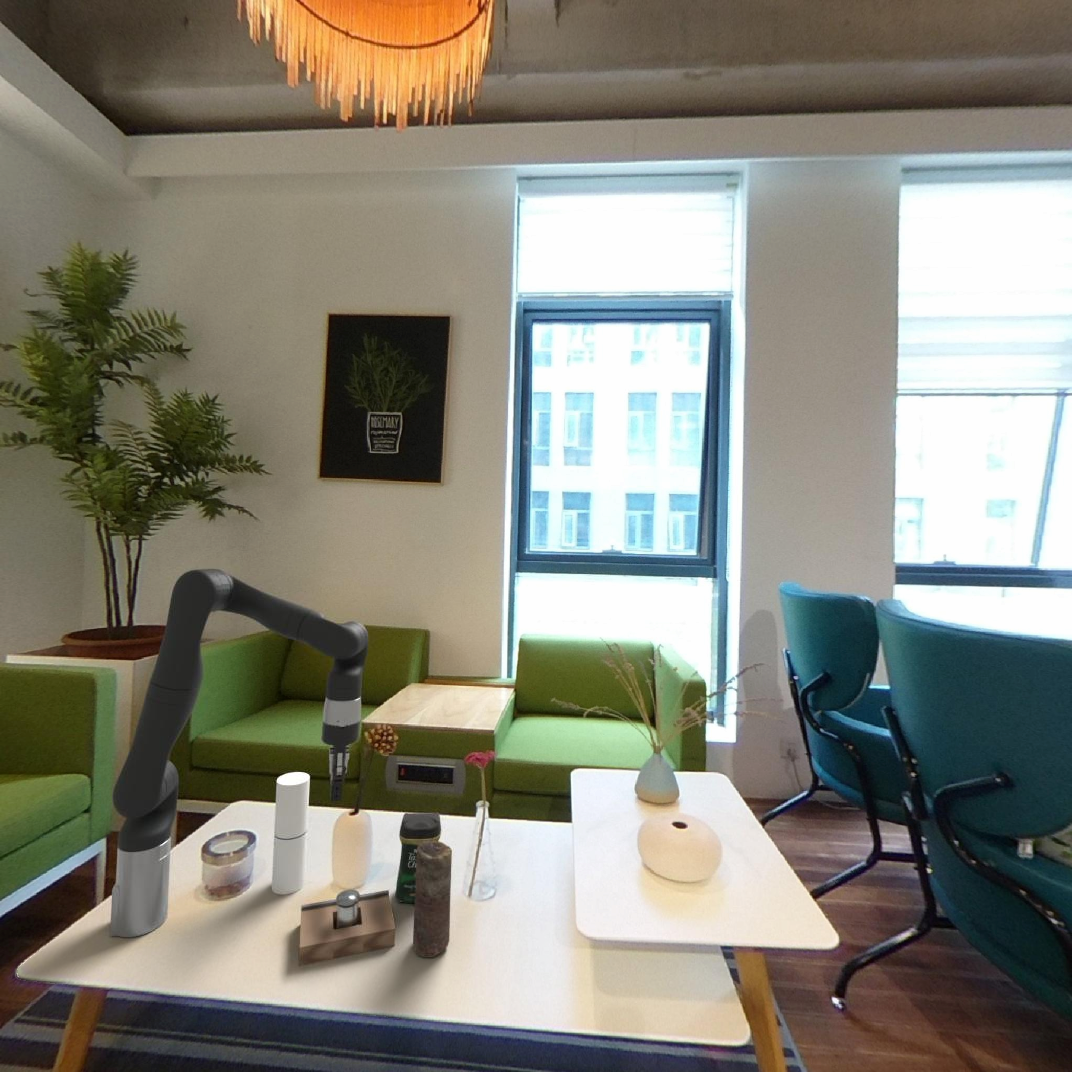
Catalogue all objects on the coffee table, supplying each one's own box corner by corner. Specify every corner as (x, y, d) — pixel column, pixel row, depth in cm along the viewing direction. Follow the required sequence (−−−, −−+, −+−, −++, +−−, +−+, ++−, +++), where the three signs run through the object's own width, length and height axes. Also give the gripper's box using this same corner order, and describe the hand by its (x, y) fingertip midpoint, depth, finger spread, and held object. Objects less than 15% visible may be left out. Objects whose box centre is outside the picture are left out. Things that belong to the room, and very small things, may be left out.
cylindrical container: (281, 898, 128) (287, 788, 128) (265, 885, 133) (270, 778, 133) (310, 884, 134) (315, 778, 134) (294, 872, 138) (299, 769, 138)
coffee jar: (394, 906, 128) (398, 824, 127) (397, 884, 135) (401, 807, 135) (438, 904, 129) (442, 822, 129) (438, 883, 137) (442, 806, 137)
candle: (409, 936, 119) (414, 840, 119) (444, 929, 121) (449, 835, 121) (415, 962, 112) (420, 860, 111) (452, 954, 114) (457, 855, 114)
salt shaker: (334, 945, 115) (336, 905, 115) (334, 929, 119) (336, 891, 119) (358, 940, 117) (360, 901, 117) (357, 925, 121) (359, 887, 121)
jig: (298, 965, 109) (299, 944, 109) (300, 924, 120) (301, 905, 120) (394, 945, 116) (395, 925, 116) (387, 908, 127) (388, 889, 127)
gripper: (323, 708, 125) (317, 787, 125) (322, 729, 112) (316, 817, 112) (358, 707, 127) (353, 784, 127) (362, 727, 115) (355, 813, 115)
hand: (335, 799), depth 120 cm, fingers closed
